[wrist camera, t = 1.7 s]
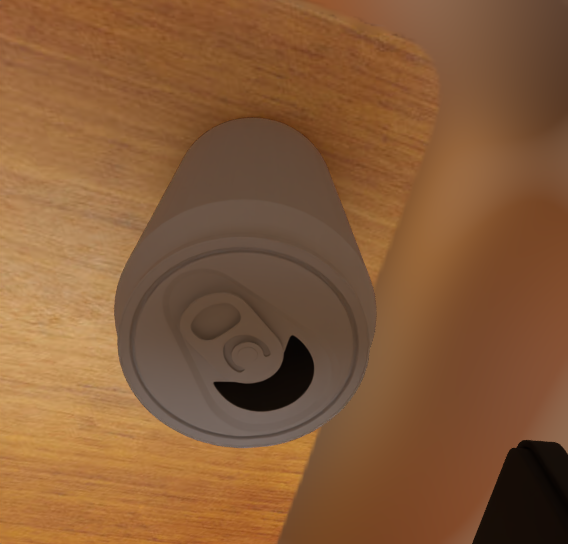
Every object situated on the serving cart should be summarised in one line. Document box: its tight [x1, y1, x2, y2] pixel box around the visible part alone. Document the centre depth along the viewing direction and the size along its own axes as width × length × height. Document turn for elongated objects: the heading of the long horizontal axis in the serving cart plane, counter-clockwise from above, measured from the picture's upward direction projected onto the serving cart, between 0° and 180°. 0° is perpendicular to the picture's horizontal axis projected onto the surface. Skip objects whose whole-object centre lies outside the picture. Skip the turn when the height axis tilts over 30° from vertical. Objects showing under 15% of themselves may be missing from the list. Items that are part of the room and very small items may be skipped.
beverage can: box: [114, 118, 376, 448], centre depth 17 cm, size 6×6×12 cm
